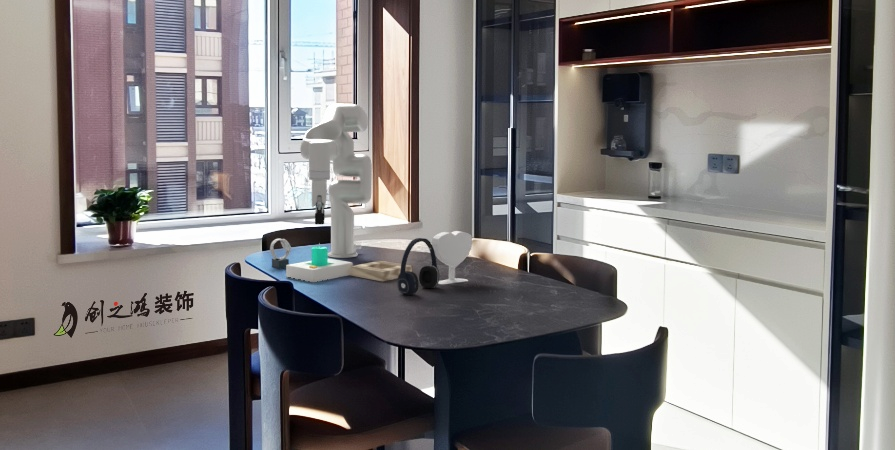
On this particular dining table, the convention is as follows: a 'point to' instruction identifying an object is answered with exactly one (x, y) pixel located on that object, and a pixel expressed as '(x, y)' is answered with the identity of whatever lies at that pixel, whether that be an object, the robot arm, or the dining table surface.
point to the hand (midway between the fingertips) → (319, 222)
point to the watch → (281, 261)
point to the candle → (319, 256)
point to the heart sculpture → (452, 251)
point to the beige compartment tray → (378, 270)
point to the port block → (318, 270)
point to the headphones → (427, 273)
